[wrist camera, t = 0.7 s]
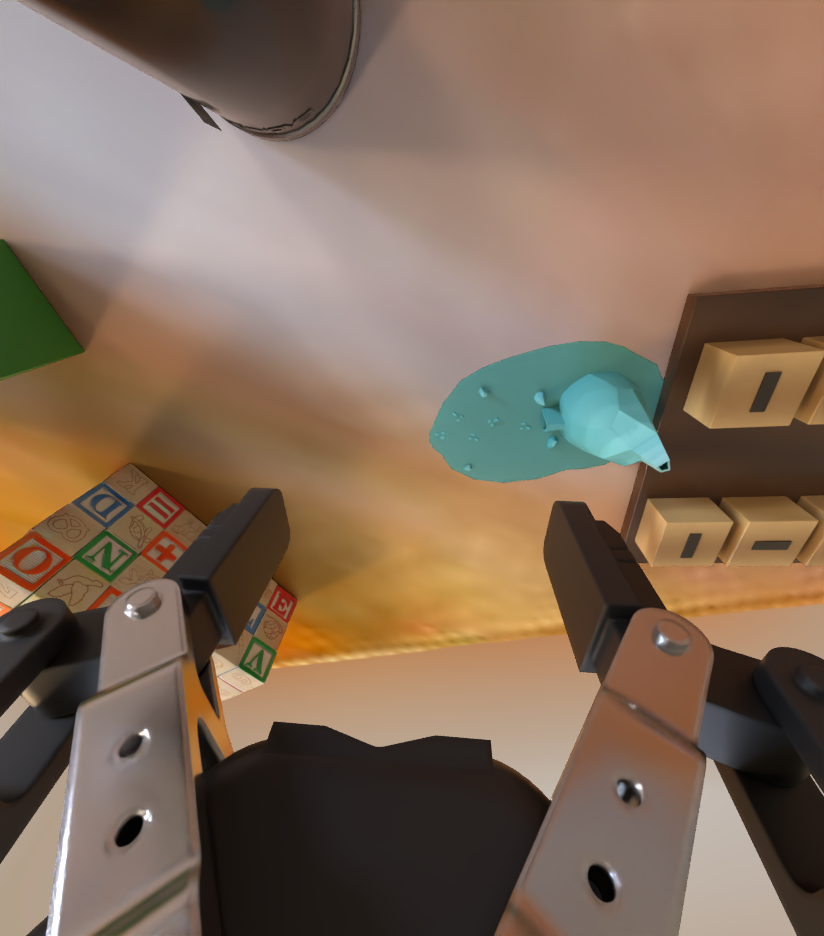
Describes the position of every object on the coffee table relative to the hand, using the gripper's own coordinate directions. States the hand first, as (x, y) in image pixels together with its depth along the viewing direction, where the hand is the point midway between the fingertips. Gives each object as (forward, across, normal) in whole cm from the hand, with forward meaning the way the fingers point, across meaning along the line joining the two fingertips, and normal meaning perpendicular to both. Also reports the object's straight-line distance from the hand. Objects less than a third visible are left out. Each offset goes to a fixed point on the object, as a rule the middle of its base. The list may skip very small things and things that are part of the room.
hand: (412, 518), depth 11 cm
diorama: (+18, -8, +4) cm, 20 cm away
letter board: (+18, -26, +6) cm, 32 cm away
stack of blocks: (+18, +23, +19) cm, 35 cm away
